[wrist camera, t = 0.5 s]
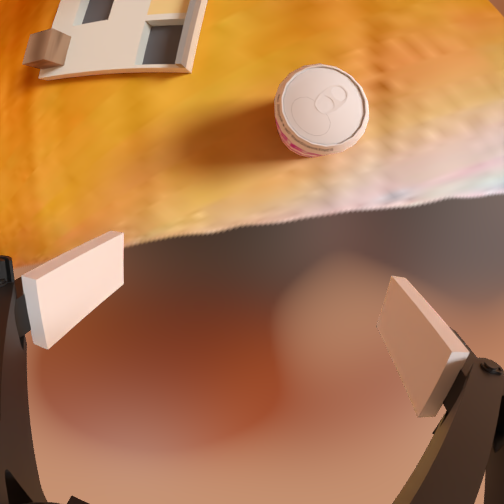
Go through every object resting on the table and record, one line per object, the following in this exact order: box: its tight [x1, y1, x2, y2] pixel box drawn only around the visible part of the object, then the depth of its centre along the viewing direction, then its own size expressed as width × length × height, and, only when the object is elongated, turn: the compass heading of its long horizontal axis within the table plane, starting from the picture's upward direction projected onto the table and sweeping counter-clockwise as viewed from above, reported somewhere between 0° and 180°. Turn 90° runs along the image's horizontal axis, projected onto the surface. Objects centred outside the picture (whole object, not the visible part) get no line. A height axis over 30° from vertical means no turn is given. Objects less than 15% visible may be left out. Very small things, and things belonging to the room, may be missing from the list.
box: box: [39, 0, 208, 81], centre depth 33 cm, size 26×16×4 cm, turn 81°
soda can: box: [274, 64, 369, 158], centre depth 30 cm, size 8×8×15 cm
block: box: [23, 28, 71, 69], centre depth 32 cm, size 5×5×5 cm
